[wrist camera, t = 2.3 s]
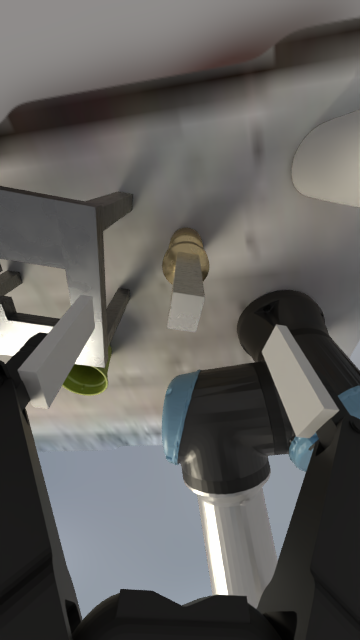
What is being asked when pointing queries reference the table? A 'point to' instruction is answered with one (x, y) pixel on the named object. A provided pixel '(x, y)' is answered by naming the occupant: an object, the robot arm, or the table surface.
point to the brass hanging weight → (185, 278)
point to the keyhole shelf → (60, 262)
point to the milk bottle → (330, 161)
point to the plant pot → (88, 378)
